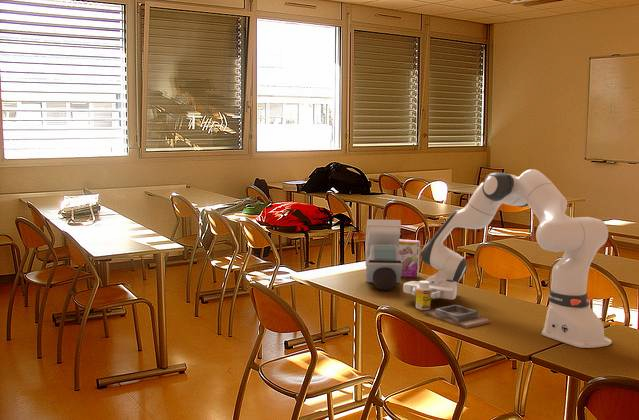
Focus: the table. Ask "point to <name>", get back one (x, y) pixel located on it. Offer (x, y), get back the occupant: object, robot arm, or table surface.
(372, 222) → the robot
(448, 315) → the cup holder board
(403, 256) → the candy bar box
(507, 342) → the table surface
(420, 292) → the supplement bottle
